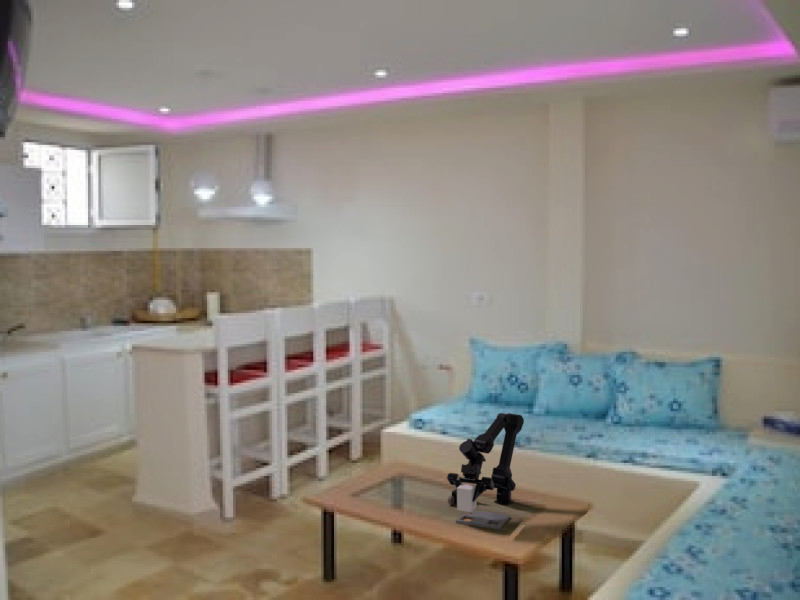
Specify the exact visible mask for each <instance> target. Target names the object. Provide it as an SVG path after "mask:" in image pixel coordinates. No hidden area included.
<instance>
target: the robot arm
mask: <svg viewBox="0 0 800 600" xmlns="http://www.w3.org/2000/svg"><path fill="white" fill-rule="evenodd" d="M524 423H525V418H524V417H523V416H522V415H521V414H517V413H509V412H508V413H502V412H500V413H497V415H496V418H495V419H494V421H493V422H492V423H491V425H490V426H489V427H488V429H486V431H485V432H484V433H482V434H479V435H478V436H477V437H476V438H474V440H473V439H471V438H467V439H466V440H465V441H463V442H462V443H461V444H459V449H458V450H459V452H460V453H461V454H462V455H463V456H464V458H465V460H468V462H467V463H466V464H461V468H460V473H462V476H463V477H461V476H459V474H458V473H455V472H449V473H448V474H447V477H446V480H447V481H448V483H449V485H451V486H454V487H455V489H457V487H459V486H460V485H461V484H470V485H476V489H475V493H474V496H473V500H472V501H473V502H474V501H475V500H476V501H477V499H479V497H480V496H481V495H482V494H483V493H484V492H487V491H488V490H489V491H494V489H496V500H494V501H493V503H495V504H500V505H503V506H507V505H510V504H512V503H515V500H513V499H512V491H513V492H514V491H515V490H516V482H515V481H514V480H513V479H512V478H513V474H512V473H513V472H512V469H511V463H512V460H513V459H512V458H513V455H514V448H515V444H516V439H517V436H518V434H519V433H520V432H521V430H522V429H523V426H524ZM503 429H504V432H505V433H504V438H503V443H502V448H501V452H500V457H499V461H498V465H497V466H495V467H493V468H492V472H491V477H489V476H488V477H487V476H482V477H481V479H479V478H480V475H481V474H482V466H483V463H484V462H487V460H486V458H485V456H484V454H490V453H491V452H492V450H493V449H494V446H495V440H496V439H497V438H498V436H499V435H500V433H501V432H502V431H503Z"/></svg>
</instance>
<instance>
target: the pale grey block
mask: <svg viewBox="0 0 800 600" xmlns="http://www.w3.org/2000/svg"><path fill="white" fill-rule="evenodd" d="M456 489H457V504H456V510H457V511H460V512H463V513H465V516H467V512H469V514H472V511H473V510H476V509H477V507H478V506H477V501H478V500H477V499H476V500H475V501H474V502H473V501H472V500H473V496H474V493H475V489H476V484H471V483H461V485H460V486H459V487H457V488H456Z"/></svg>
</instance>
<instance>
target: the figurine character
mask: <svg viewBox="0 0 800 600" xmlns="http://www.w3.org/2000/svg"><path fill="white" fill-rule="evenodd" d="M447 503H448V505H453V504H454V505H457V488H455V489H454V490H453V491H451V495H449V496H448V498H447Z"/></svg>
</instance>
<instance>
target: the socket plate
mask: <svg viewBox="0 0 800 600" xmlns="http://www.w3.org/2000/svg"><path fill="white" fill-rule="evenodd" d="M510 518H511V516H510V514H506V513H503V514H502V513H497V512H490V511H483V510H477V509H474V510H473V511H472V514H469V512H467V516H465V513H464V512H463V513H462V514H461V515H460V516H459V517H458V518H457V519H455V523H456V524H461V525H467V526H474V527H479V528H481V527H482V528H487V529H494V530H500V529H501V528H503V526H504V525H505V524H506V522H507V521H508V520H509V519H510ZM490 523H491V524H490ZM496 524H497V525H496Z"/></svg>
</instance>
